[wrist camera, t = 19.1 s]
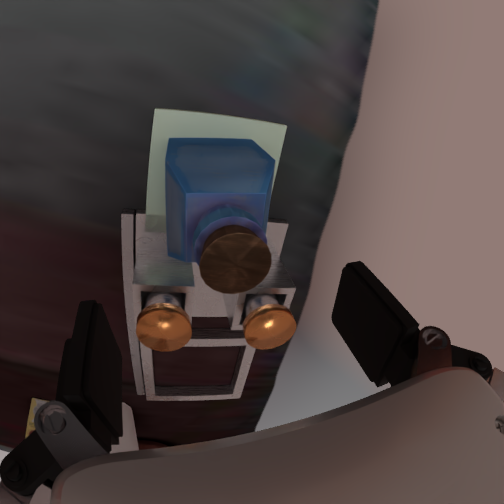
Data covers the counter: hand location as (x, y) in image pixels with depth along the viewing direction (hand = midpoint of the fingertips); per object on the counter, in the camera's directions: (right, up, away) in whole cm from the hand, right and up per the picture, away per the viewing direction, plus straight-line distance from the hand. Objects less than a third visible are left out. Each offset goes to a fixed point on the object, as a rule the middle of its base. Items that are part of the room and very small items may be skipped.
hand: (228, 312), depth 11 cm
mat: (-2, +8, +13) cm, 15 cm away
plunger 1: (-7, 0, +15) cm, 16 cm away
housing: (-5, -6, +21) cm, 22 cm away
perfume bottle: (-3, +8, +12) cm, 15 cm away
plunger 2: (+1, 0, +17) cm, 17 cm away
